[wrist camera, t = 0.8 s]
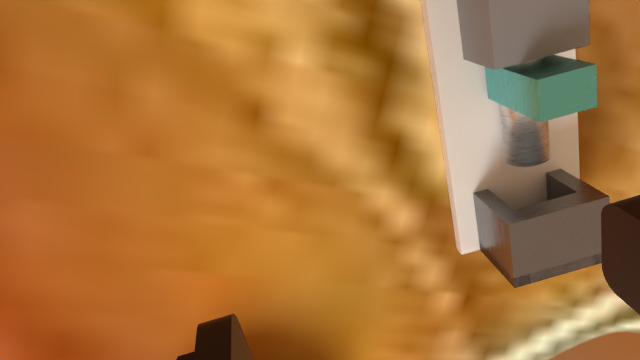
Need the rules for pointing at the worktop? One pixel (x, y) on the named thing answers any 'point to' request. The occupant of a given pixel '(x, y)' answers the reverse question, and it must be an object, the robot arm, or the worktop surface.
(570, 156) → the board
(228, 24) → the worktop surface
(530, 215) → the socket
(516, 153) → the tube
